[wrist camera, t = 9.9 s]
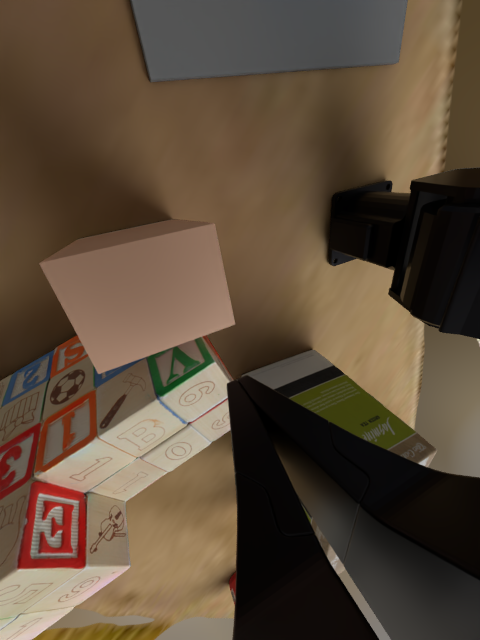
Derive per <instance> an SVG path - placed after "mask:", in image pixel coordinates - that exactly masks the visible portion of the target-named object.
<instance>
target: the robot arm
mask: <svg viewBox="0 0 480 640" xmlns="http://www.w3.org/2000/svg"><path fill="white" fill-rule="evenodd" d="M391 190H392V181H382V182H377V183H373V184H369V185H365V186H361V187H357V188H353V189H348V190H344V191H340V192H337V193H335V194H334V195H333V197H332V208H331V226H330V244H329V264H330V265H332V266H336V265H339V264H342V263H345V262H348V261H351V260H354V259H360V260H363V261H367V262H370V263H373V264H376V265H379V266H382V267H385V268H388V269H391V270H394V275H393V279H392V284H391V288H389V293H388V295H390V296H391V297H392V298H393V299H394V300H396V301H397V302H398V303H399V304H401V305H402V306H403V307H404V308H406V309H407V310H408V311H409V312H410V314H411V315H412V316H413V317H415V318H417V319H419V320H420V321H422V322H423V323H425V324H427V325H429V326H432V327H435V328H439V331H440V332H443V333H451V334H460V335H464V336H469V337H473V338H477V339H480V168H464V169H455V170H451V171H447V172H443V173H439V174H435V175H431V176H427V177H423V178H419V179H415V180H412V181H411V185H410V190H411V193H395V192H391ZM338 197H339V200H338ZM334 259H335V260H334ZM227 397H228V407H229V418H230V429H231V439H232V450H233V461H234V471H235V484H236V498H237V552H236V591H235V614H234V628H233V640H379V638H378V637H377V635H376V634H375V632H374V631H373V629H372V628H371V626H370V624H369V623H368V621H367V620H366V618H365V617H364V615H363V613H362V612H361V610H360V609H359V607H358V606H357V604H356V602H355V601H354V599H353V598H352V596H351V595H350V593H349V592H348V590H347V589H346V587H345V585H344V584H343V582H342V581H341V579H340V577H339V576H338V574H337V573H336V571H335V570H334V568H333V566H332V565H331V563H330V561H329V560H328V558H327V556H326V554H325V552H324V550H323V548H322V546H321V544H320V542H319V540H318V538H317V536H316V535H315V532H314V530H313V527H312V525H311V523H310V521H309V519H308V517H307V515H306V513H305V511H304V508H303V506H302V504H301V502H300V500H299V498H300V499H301V501H302V502H303V504H304V505H305V507H306V508H307V510H308V512H309V513H310V515H311V516H312V518H313V519H314V521H315V522H316V524H317V525H318V527H319V529H320V530H321V532H322V533H323V535H324V536H325V538H326V539H327V541H328V542H329V544H330V546H331V547H332V549H333V550H334V552H335V553H336V555H337V556H338V558H339V559H340V561H341V563H342V564H344V567H345V569H346V570H347V572H348V574H349V575H350V577H351V578H352V580H353V581H354V583H355V584H356V586H357V587H358V589H359V591H360V592H361V593H362V595H363V597H364V598H365V600H366V601H367V603H368V604H369V606H370V608H371V609H372V611H373V612H374V614H375V615H376V617H377V618H378V620H379V621H380V623H381V624H382V626H383V628H384V629H385V631H386V632H387V634H388V635H389V637H390V638H391V640H480V478H479V477H471V476H463V475H456V474H449V473H445V472H441V471H437V470H434V469H431V468H428V467H425V466H423V465H420V464H418V463H416V462H414V461H411V460H409V459H407V458H405V457H402V456H400V455H398V454H396V453H393V452H391V451H389V450H387V449H384V448H382V447H380V446H378V445H375V444H373V443H371V442H369V441H367V440H365V439H363V438H360V437H358V436H356V435H354V434H352V433H351V432H349V431H347V430H345V429H343V428H341V427H339V426H338V425H336V424H334V423H332V422H329V421H328V420H327V419H325V418H323V417H321V416H320V415H318V414H316V413H314V412H313V411H311V410H309V409H307V408H305V407H304V406H302V405H300V404H298V403H297V402H295V401H293V400H291V399H289V398H288V397H286V396H284V395H282V394H281V393H279V392H277V391H275V390H273V389H272V388H270V387H268V386H266V385H265V384H263V383H261V382H259V381H257V380H256V379H254V378H252V377H250V376H248V375H245V376H243V377H240V378H238V379H237V380H233V381H231V382H229V383H227ZM295 491H296V492H295ZM296 493H297V494H296ZM297 495H298V496H299V498H298V496H297Z"/></svg>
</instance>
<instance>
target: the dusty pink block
mask: <svg viewBox="0 0 480 640" xmlns="http://www.w3.org/2000/svg"><path fill="white" fill-rule="evenodd" d="M39 264H40V266H41V268H42V270H43V272H44V274H45V276H46V277H47V279H48V281H49V283H50V285H51V287H52V289H53V290H54V292H55V294H56V296H57V298H58V300H59V302H60V304H61V305H62V307H63V309H64V311H65V313H66V315H67V317H68V318H69V320H70V322H71V324H72V326H73V328H74V330H75V331H76V333H77V335H78V337H79V339H80V341H81V343H82V344H83V346H84V348H85V350H86V352H87V354H88V356H89V358H90V359H91V361H92V363H93V365H94V367H95V369H96V371H97V372H98V374H100V373H103V372H106V371H109V370H111V369H114V368H117V367H120V366H122V365H125V364H128V363H131V362H133V361H136V360H139V359H142V358H144V357H147V356H150V355H153V354H155V353H158V352H161V351H164V350H166V349H169V348H172V347H175V346H177V345H180V344H183V343H186V342H188V341H191V340H194V339H197V338H199V337H202V336H205V335H208V334H210V333H213V332H216V331H219V330H221V329H224V328H227V327H230V326H232V325H235V320H234V315H233V310H232V306H231V301H230V296H229V291H228V286H227V281H226V276H225V271H224V266H223V261H222V256H221V251H220V247H219V242H218V237H217V232H216V227H215V223H208V222H197V221H187V220H176V219H171V220H166V221H162V222H157V223H152V224H147V225H143V226H138V227H133V228H129V229H124V230H119V231H114V232H110V233H105V234H100V235H95V236H91V237H86V238H81V239H77V240H76V241H74V242H72V243H71V244H69V245H68V246H66V247H64V248H63V249H61V250H59V251H58V252H56V253H54V254H53V255H51V256H50V257H48V258H46V259H45V260H43V261H41V262H40V263H39Z"/></svg>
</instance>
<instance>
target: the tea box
mask: <svg viewBox="0 0 480 640" xmlns="http://www.w3.org/2000/svg"><path fill="white" fill-rule="evenodd" d="M245 375H248V376H250V377H252V378H254V379H256V380H257V381H259V382H261V383H263V384H265V385H266V386H268V387H270V388H272V389H273V390H275V391H277V392H279V393H281V394H282V395H284V396H286V397H288V398H289V399H291V400H293V401H295V402H297V403H298V404H300V405H302V406H304V407H305V408H307V409H309V410H311V411H313V412H314V413H316V414H318V415H320V416H321V417H323V418H325V419H327V420H328V421H329V422H332V423H334V424H336V425H338V426H339V427H341V428H343V429H345V430H347V431H349V432H351V433H352V434H354V435H356V436H358V437H360V438H363V439H365V440H367V441H369V442H371V443H373V444H375V445H378V446H380V447H382V448H384V449H387V450H389V451H391V452H393V453H396V454H398V455H400V456H402V457H405V458H407V459H409V460H411V461H414V462H416V463H418V464H420V465H423V466H425V467H428V466H429V464H430V462H431V461H432V459H433V457H434V455H435V453H436V451H437V449H436V448H434V447H433V446H432V445H431V444H429V443H428V442H427V441H426V440H425V439H424V438H422V437H421V436H420V435H419V434H418V433H417V432H416V431H414V430H413V429H412V428H411V427H409V426H408V425H407V424H406V423H404V422H403V421H402V420H401V419H399V418H398V417H397V416H395V415H394V414H393V413H392V412H390V411H389V410H388V409H387V408H385V407H384V406H383V405H382V404H381V403H380V402H379V401H378V400H376V399H375V398H374V397H373V396H371V395H370V394H369V393H367V392H366V391H365V390H363V389H362V388H361V387H360V386H358V385H357V384H356V383H355V382H354V381H353V380H352V379H350V378H349V377H348V376H347V375H345V374H344V373H343V372H342V371H341V370H339V369H338V368H337V367H335V366H334V365H333V364H332V363H331V362H330V361H328V360H327V359H326V358H325V357H323V356H322V355H320V354H319V353H318V352H317V351H316V350H310V351H307V352H304V353H301V354H298V355H295V356H292V357H289V358H286V359H284V360H281V361H278V362H275V363H272V364H270V365H267V366H264V367H261V368H258V369H256V370H253V371H251V372H248V373H246V374H243V375H242V376H241V377H243V376H245ZM295 492H296V491H295ZM296 494H297V493H296ZM297 496H298V495H297ZM298 498H299V496H298ZM299 500H300V502H301V504H302V506H303V508H304V511H305V513H306V515H307V517H308V519H309V521H310V523H311V525H312V527H313V530H314V532H315V535H316V536H317V538H318V540H319V542H320V544H321V546H322V548H323V550H324V552H325V554H326V556H327V558H328V560H329V561H330V563H331V565H332V566H333V568H334V570H335V571H336V573H337V574H340V573H341V572H343V571H344V570H345V567H344V564H342V563H341V561H340V559H339V558H338V556H337V555H336V553H335V552H334V550H333V549H332V547H331V546H330V544H329V542H328V541H327V539H326V538H325V536H324V535H323V533H322V532H321V530H320V529H319V527H318V525H317V524H316V522H315V521H314V519H313V518H312V516H311V515H310V513H309V512H308V510H307V508H306V507H305V505H304V504H303V502H302V501H301V499H300V498H299Z"/></svg>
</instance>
